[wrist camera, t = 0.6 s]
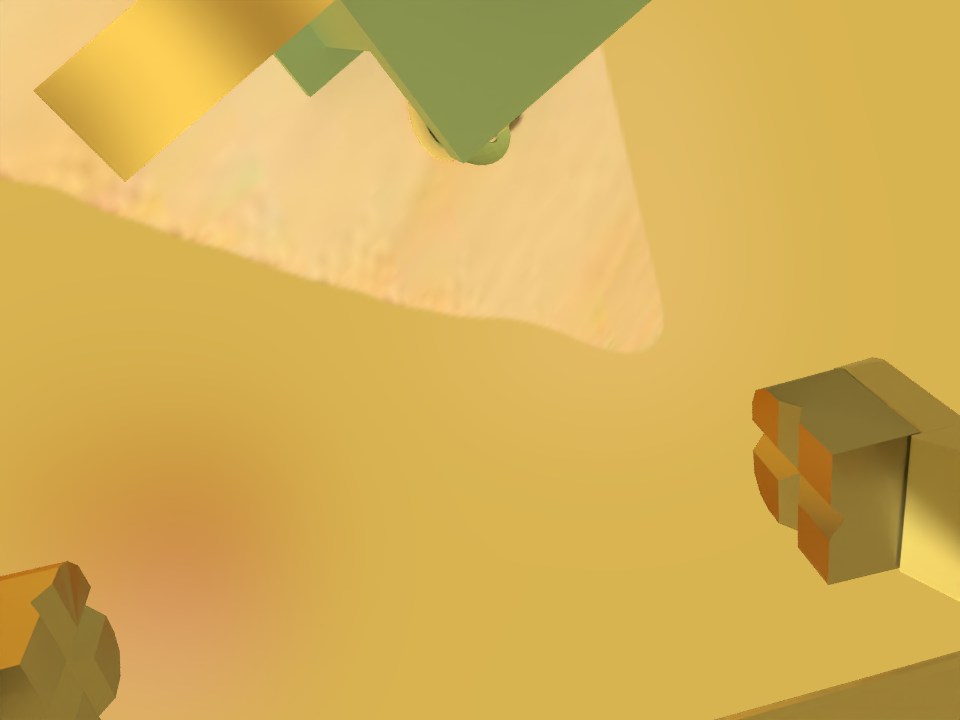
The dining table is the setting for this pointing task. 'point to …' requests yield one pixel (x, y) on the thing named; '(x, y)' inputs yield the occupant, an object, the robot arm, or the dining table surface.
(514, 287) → the dining table surface
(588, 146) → the dining table surface
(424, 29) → the stand
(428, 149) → the pacifier
